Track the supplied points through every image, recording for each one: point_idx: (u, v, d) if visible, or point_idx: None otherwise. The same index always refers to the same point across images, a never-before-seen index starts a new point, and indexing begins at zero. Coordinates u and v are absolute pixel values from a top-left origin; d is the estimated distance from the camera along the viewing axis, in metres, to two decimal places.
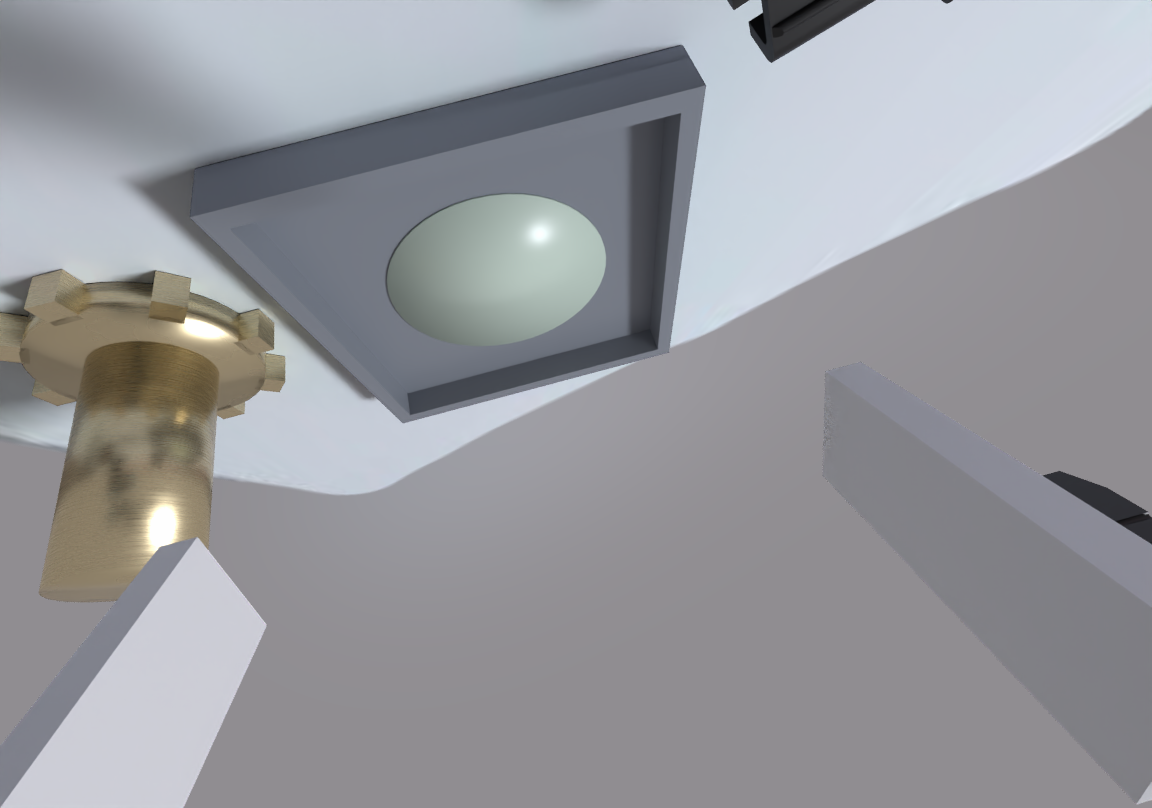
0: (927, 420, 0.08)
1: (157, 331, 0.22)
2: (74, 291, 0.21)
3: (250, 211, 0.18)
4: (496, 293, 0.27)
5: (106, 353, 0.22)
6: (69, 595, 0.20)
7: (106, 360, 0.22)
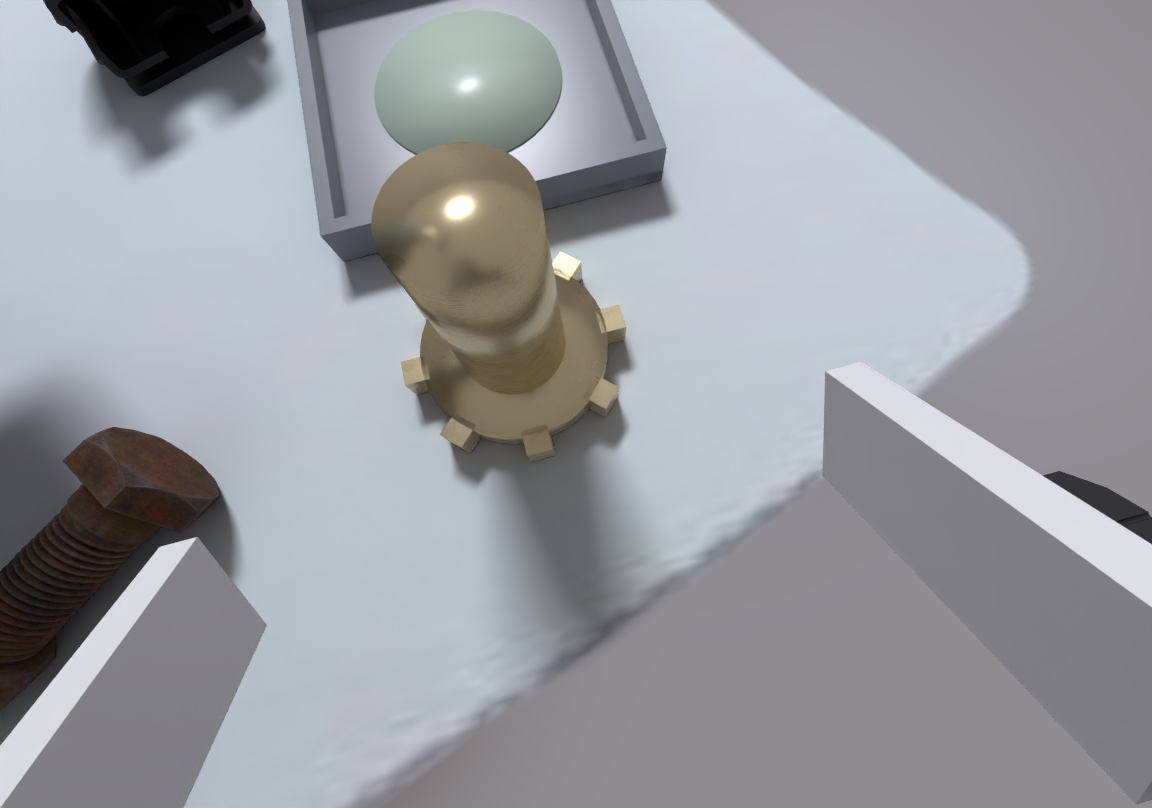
0: (927, 420, 0.08)
1: None
2: None
3: (323, 203, 0.26)
4: (481, 86, 0.30)
5: None
6: (446, 271, 0.14)
7: None
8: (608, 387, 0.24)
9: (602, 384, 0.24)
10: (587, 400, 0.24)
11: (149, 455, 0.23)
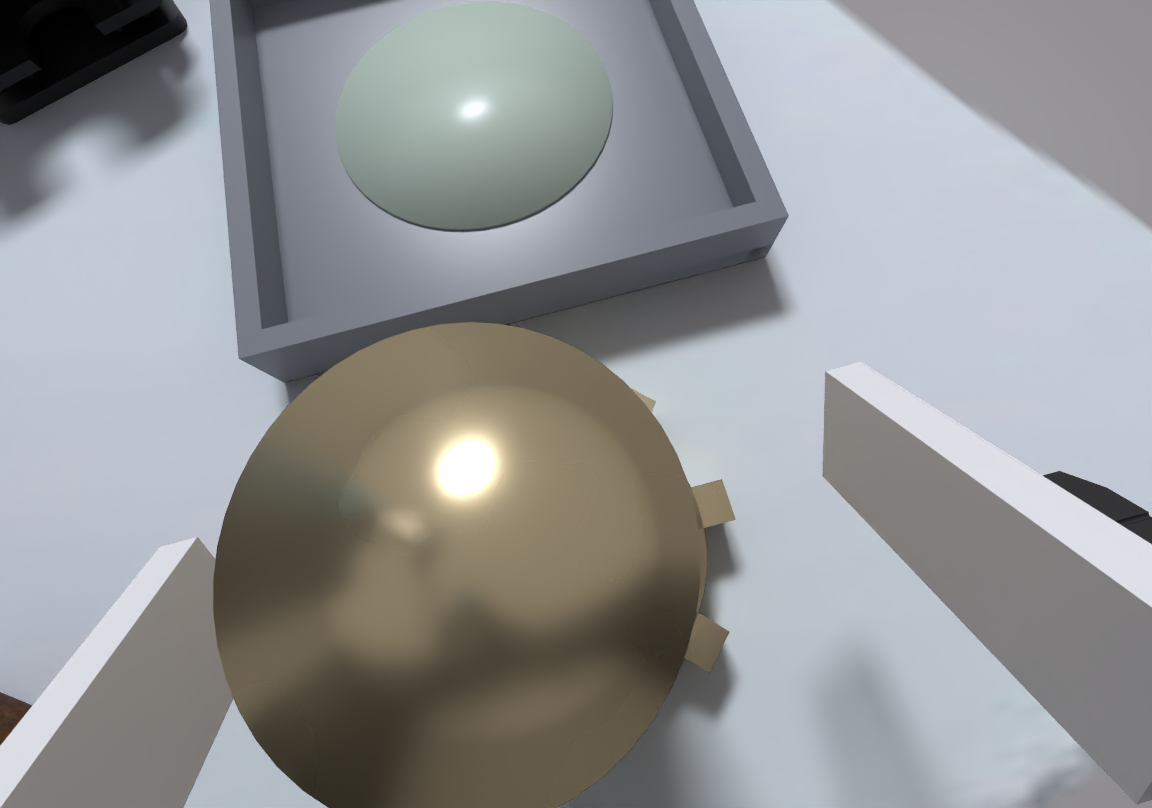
0: (927, 420, 0.08)
1: None
2: None
3: (245, 304, 0.17)
4: (493, 112, 0.20)
5: None
6: (423, 756, 0.05)
7: None
8: (712, 632, 0.14)
9: (701, 625, 0.14)
10: None
11: None
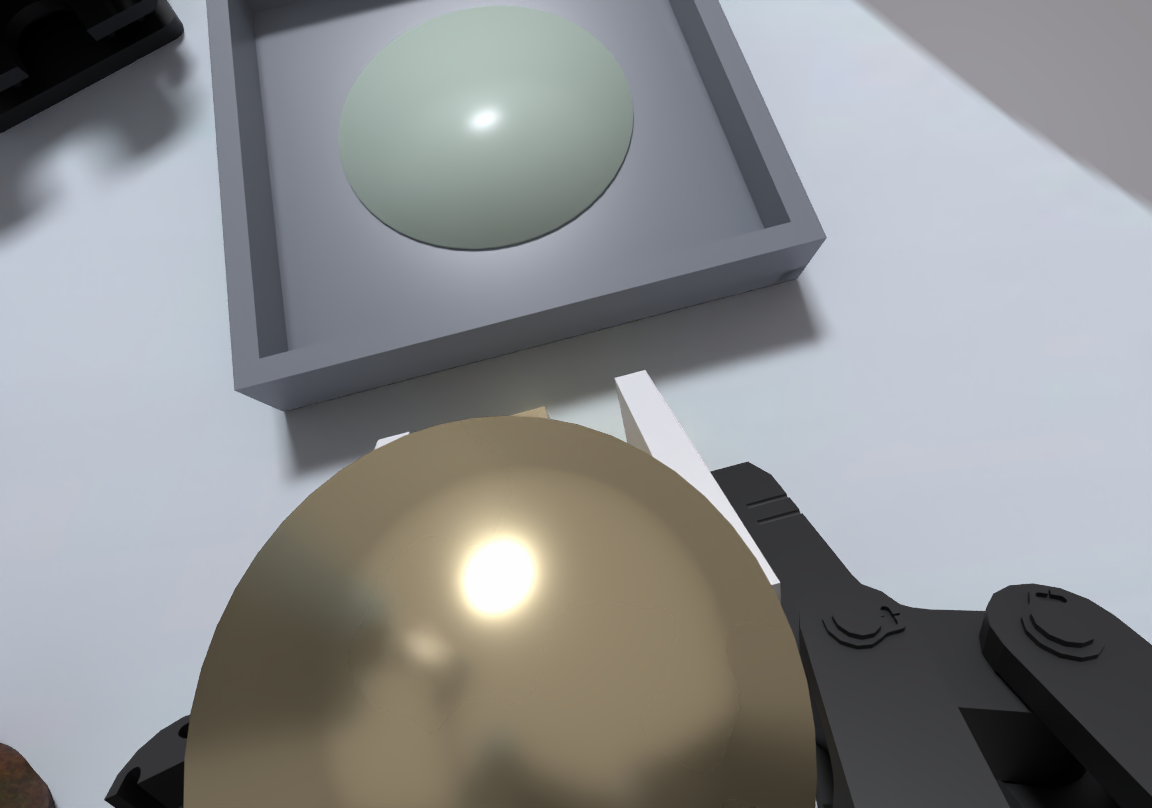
0: (658, 420, 0.10)
1: None
2: None
3: (242, 330, 0.15)
4: (506, 123, 0.19)
5: None
6: None
7: None
8: None
9: None
10: None
11: None
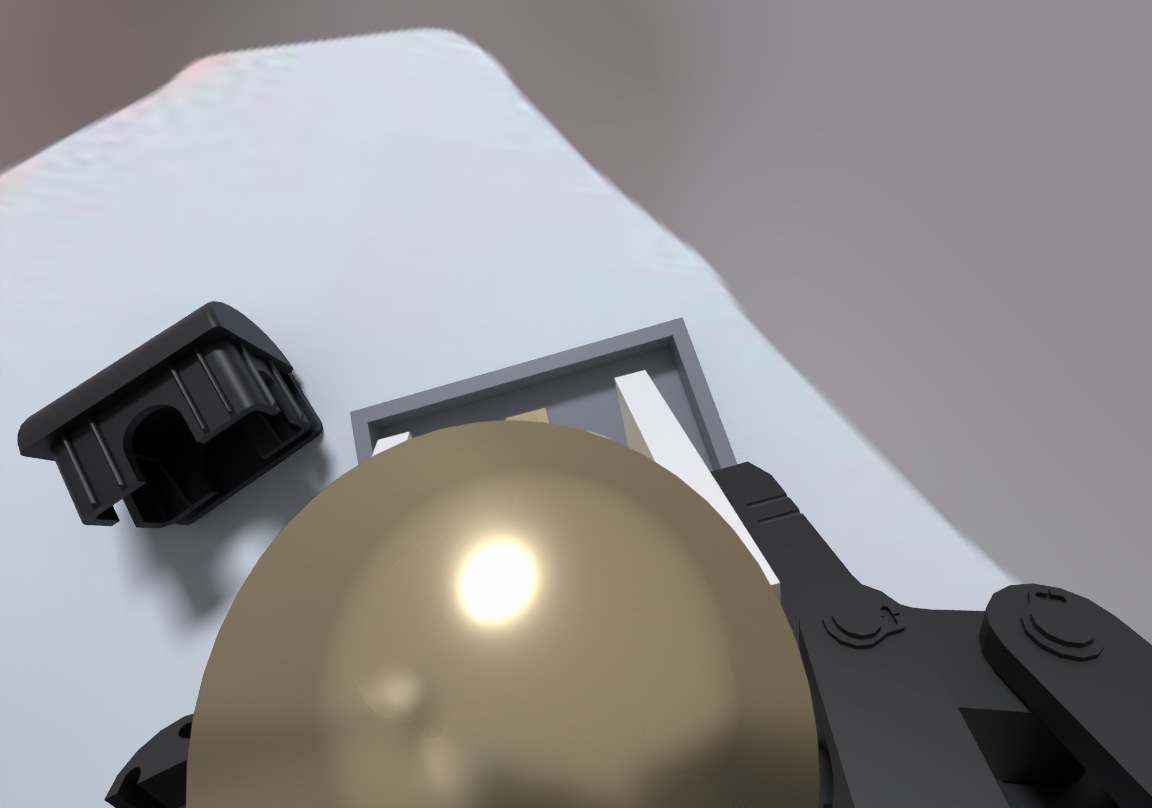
0: (658, 420, 0.10)
1: None
2: None
3: None
4: None
5: None
6: None
7: None
8: None
9: None
10: None
11: None
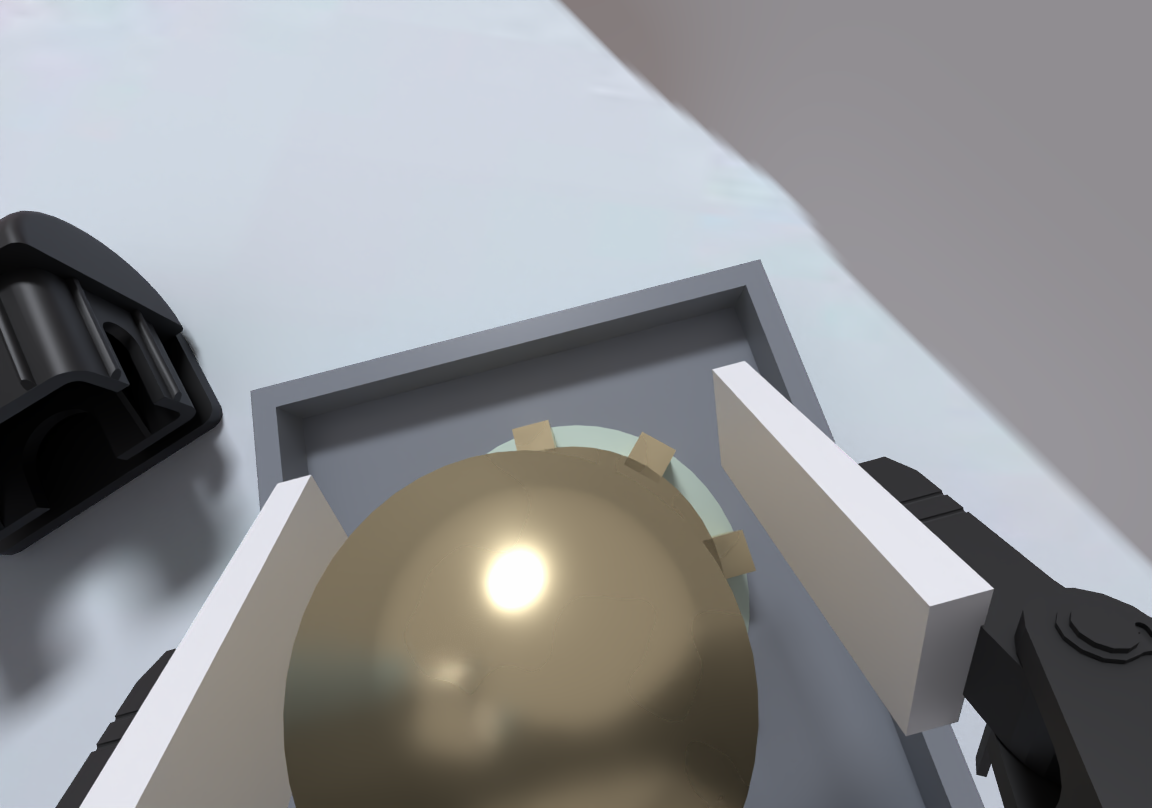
0: (779, 412, 0.09)
1: None
2: None
3: None
4: None
5: None
6: None
7: None
8: None
9: None
10: None
11: None
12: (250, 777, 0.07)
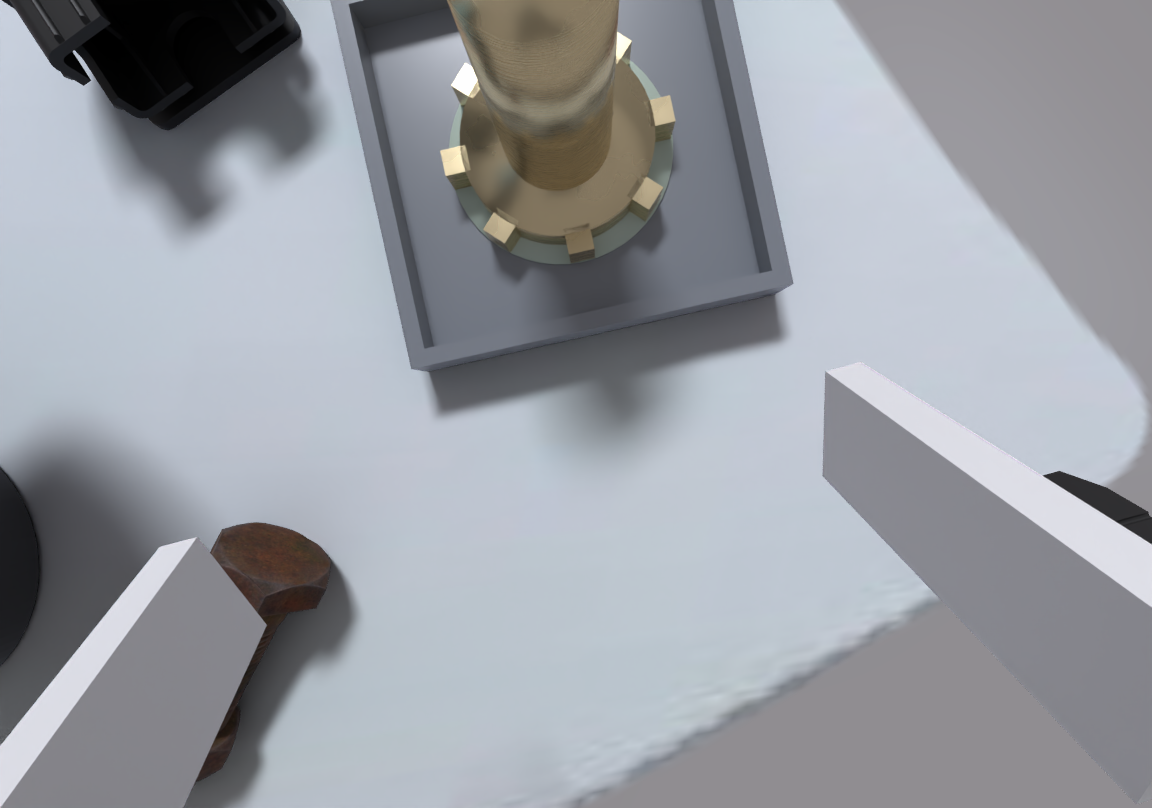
0: (927, 420, 0.08)
1: None
2: None
3: (410, 328, 0.24)
4: None
5: None
6: (518, 16, 0.14)
7: None
8: (653, 187, 0.23)
9: (647, 183, 0.23)
10: (630, 200, 0.24)
11: (262, 551, 0.24)
12: None
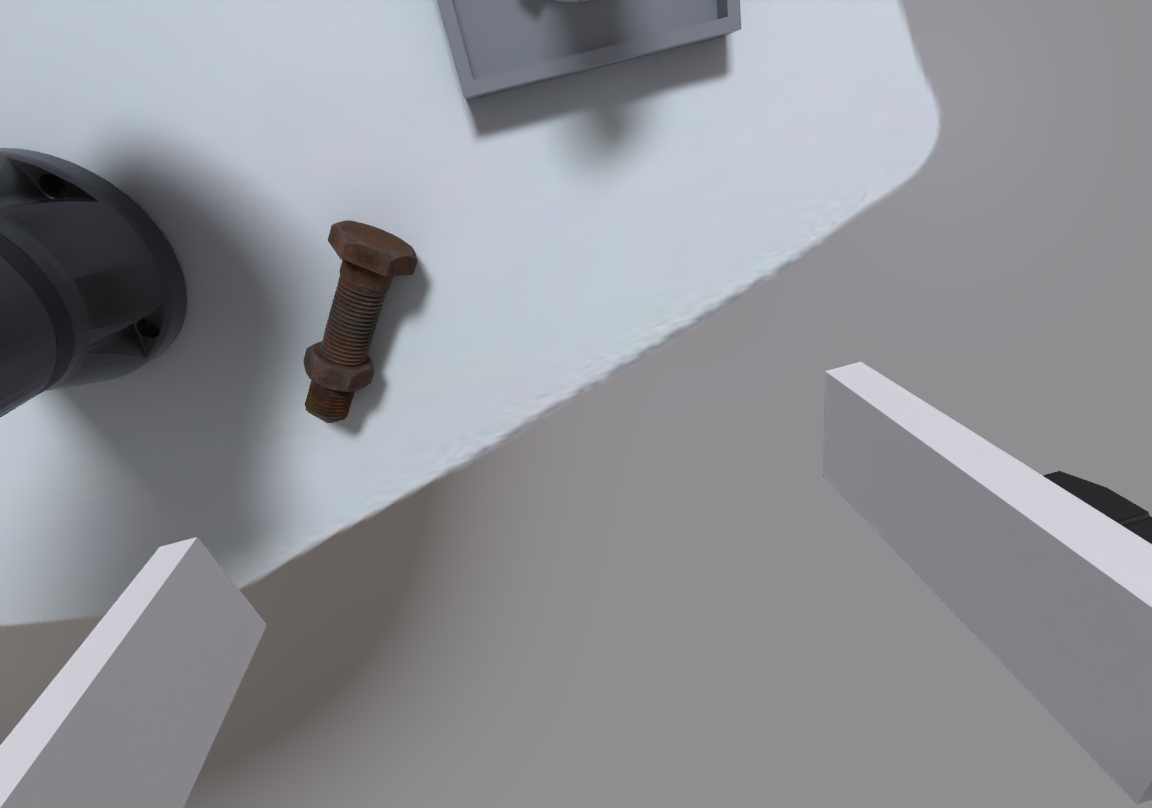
0: (927, 420, 0.08)
1: None
2: None
3: (460, 61, 0.31)
4: None
5: None
6: None
7: None
8: None
9: None
10: None
11: (369, 236, 0.35)
12: None
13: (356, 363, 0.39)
